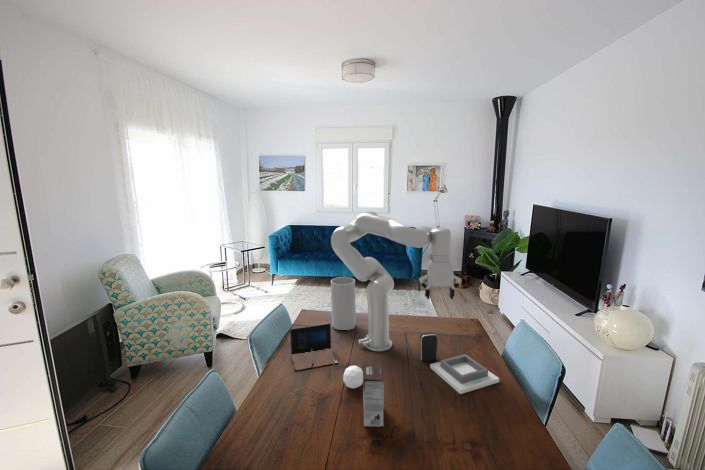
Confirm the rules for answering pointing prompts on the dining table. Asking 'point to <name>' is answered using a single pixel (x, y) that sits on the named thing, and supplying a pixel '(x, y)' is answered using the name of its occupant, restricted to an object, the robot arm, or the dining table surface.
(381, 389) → the coffee box
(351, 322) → the cylinder vase
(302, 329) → the laptop
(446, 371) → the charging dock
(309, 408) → the dining table surface
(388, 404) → the dining table surface
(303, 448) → the dining table surface
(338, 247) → the robot arm
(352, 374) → the geometric ball
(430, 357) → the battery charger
